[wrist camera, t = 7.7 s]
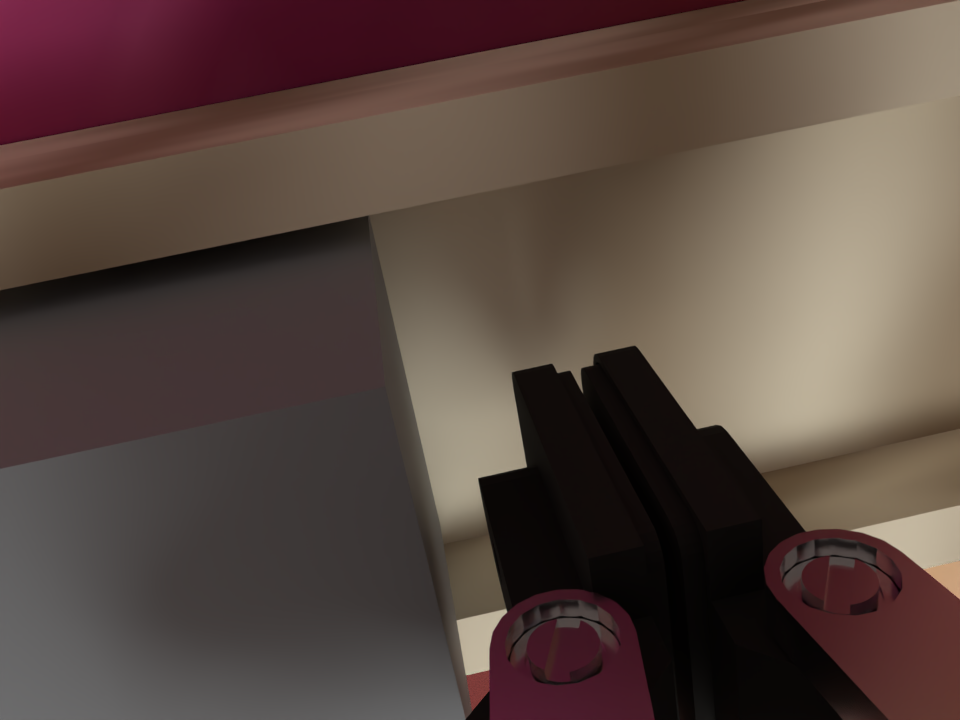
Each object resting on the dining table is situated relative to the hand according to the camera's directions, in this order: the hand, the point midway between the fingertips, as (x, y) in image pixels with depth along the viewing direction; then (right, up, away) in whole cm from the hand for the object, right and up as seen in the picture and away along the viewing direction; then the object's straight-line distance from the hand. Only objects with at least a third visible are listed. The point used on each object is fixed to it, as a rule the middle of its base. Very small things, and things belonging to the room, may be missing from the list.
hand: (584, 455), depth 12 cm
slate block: (-5, 0, +3) cm, 6 cm away
